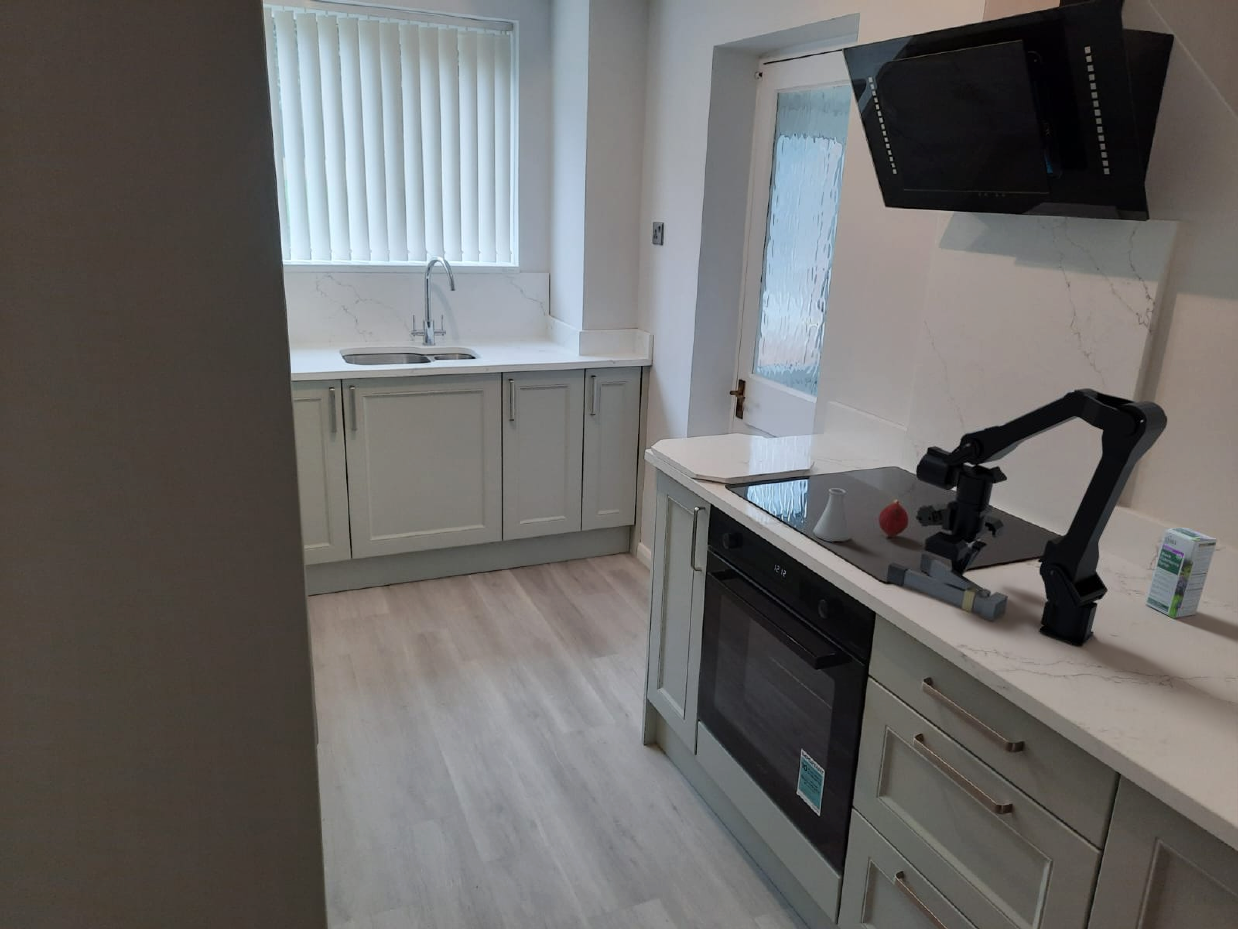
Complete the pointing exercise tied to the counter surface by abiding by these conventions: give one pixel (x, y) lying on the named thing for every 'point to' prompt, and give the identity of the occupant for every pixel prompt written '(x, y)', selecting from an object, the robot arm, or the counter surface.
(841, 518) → the flask
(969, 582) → the tongs arm
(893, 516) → the onion
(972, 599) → the tongs
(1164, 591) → the syrup box
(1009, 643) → the counter surface
